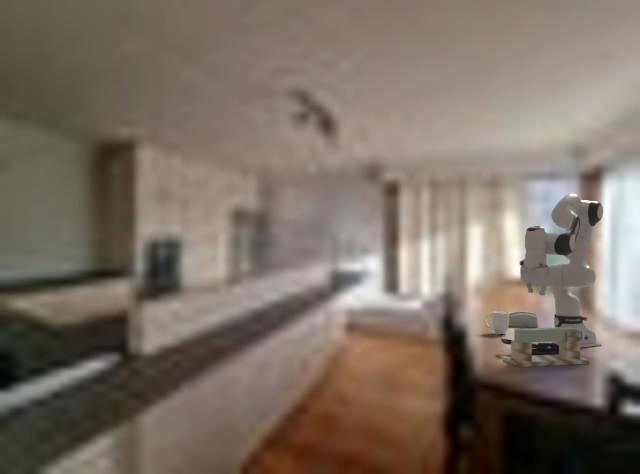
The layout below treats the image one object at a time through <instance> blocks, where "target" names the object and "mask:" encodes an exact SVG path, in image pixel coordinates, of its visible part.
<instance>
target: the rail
mask: <svg viewBox="0 0 640 474" xmlns="http://www.w3.org/2000/svg"><path fill="white" fill-rule="evenodd" d="M576 331H577V329H576V328H572V327H561V328H555V327H530V328H514V332H513V333H514V334H513V335H514V339H513V340H514V341H516V342H519V343H524V342H531V343H552V341H567V332H576Z"/></svg>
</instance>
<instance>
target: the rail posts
mask: <svg viewBox="0 0 640 474" xmlns="http://www.w3.org/2000/svg"><path fill="white" fill-rule="evenodd" d="M510 340H511V345H510V347H511V348H510V351H511V352H510V355H511V356H503V362H507V363H508V362H509V364H510V363H511V365H512V364H513V366H514V367H517V368H521V367H522V368H523V367H525V368H526V367H542V366H543V367H545V366H546V367H547V365H548V366H567V365H569V364H571V365H588V364H590V360H589V359H588V358H584V357H582V356H581V347H580V341H582V331H578V330H577V331H576V332H567V341H559V345H558V346H559V354H558V355H534V356H532V349H533V348H532V344H533V342H524V343H519V342H516V341H514V339H513V340H512V339H510Z"/></svg>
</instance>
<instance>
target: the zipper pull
mask: <svg viewBox="0 0 640 474" xmlns="http://www.w3.org/2000/svg"><path fill="white" fill-rule="evenodd" d="M511 340H512V339H506V338H501V339H500V341H501V342H502V343H503V344H504V345H509V346H511ZM558 354H559V345H557V344H556V343H552V342H537V344H536V343H532V356H534V355H558Z"/></svg>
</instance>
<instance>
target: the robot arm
mask: <svg viewBox="0 0 640 474" xmlns="http://www.w3.org/2000/svg"><path fill="white" fill-rule="evenodd" d="M551 211H552V212H551V220H552V223H554V224H555V225H556V226H557V227H559V228H561V229H566V230H565V232H557V233H556V232H552V233H551V232H546V231H545V227H544V226H541V225H534V226H529V227H527V228H526V231H525V234H524V235H525V236H524V249H525V255H524V259H521V260H520V261H519V266H520V271H519V272H520V280H521V282H524V283H525V284H526V287H527V292H528V293H530V294H531V293H534V288H533V285H537V286H538V285H539V286H540V287H539V288H540V290H539V296H541V297H542V296H545V295H546V290H547V287H548V288H549V289H550V290H551V293H552V295H553V297H554V298H553V299H554V305H555V306H554V307H555V308H554V310H555V314H554V317H553V319H554V320H553V323H554V328H561V327H572V328H576V329H577V330H578V331H582V341H580V348H588V347H590V348H591V347H598V346H602V343H601V341H598V340H597V336H596V332H595V331H594V330H593V329H592V328H590V327H589V326H587V325H586V324H585V323H584V321H585V322H587V321H588V320H589V318H588V317H587V316H582V315H581V301H580V299H579V297H578V296H577V295H575V294H573V292H571V290H570V288H578V289H579V288H588V287H589V288H590V287H591V286H593V285H594V283H595V282H596V279H597V278H596V277H597V275H596V272H595V270H594V268H593V267H591V266H590V265H589V263H588V260H587V259H588V257H587V255H588V251H589V246H590V243H591V241H592V240H591V239H592V234H593V233H592V231H593V229H592V227H595V226H596V225H597V224H598V223H599V222H600V221H601V219H602V218H603V215H604V207H603V205H602V203H601V202H599V201H595V200H592V201H591V200H582V198H581V197H580V196H579V195H577V194H574V193H568V194H567V195H564V197H562V198H561V199H560V200H559V201H558V202H557V203H556V204H555V206H554V208H553V209H552V210H551ZM547 255H554V256H555V255H556V256H564V257H565V258H566V259H567V260H569V263H552V264H547ZM551 343H556V344H557V345H558V346H559V341H551Z"/></svg>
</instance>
